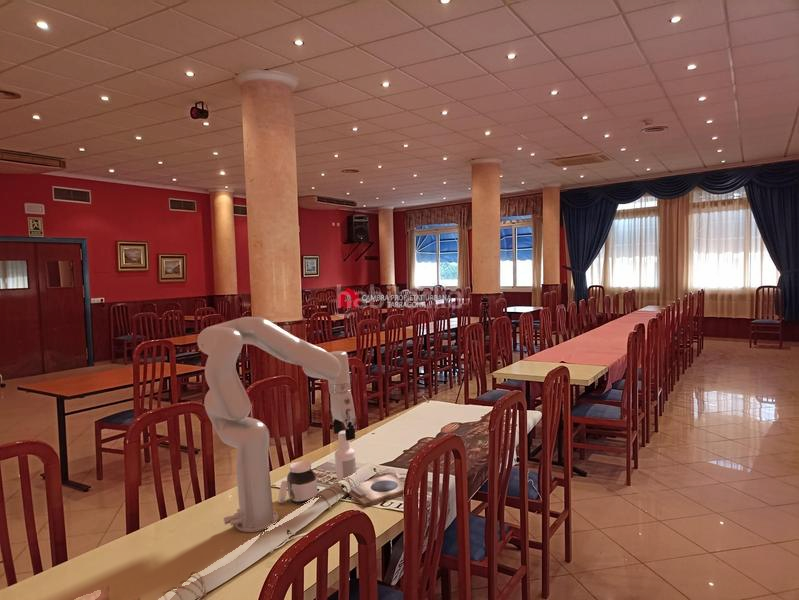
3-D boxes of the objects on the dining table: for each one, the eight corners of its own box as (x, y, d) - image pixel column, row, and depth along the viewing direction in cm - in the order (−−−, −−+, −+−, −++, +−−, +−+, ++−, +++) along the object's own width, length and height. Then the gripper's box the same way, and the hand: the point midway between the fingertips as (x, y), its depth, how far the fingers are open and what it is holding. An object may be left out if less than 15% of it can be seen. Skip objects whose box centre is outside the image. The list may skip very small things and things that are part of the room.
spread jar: (321, 500, 175) (318, 464, 175) (291, 512, 168) (287, 475, 167) (302, 490, 184) (299, 456, 184) (272, 501, 177) (269, 466, 176)
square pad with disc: (364, 507, 168) (364, 501, 168) (342, 490, 181) (342, 484, 181) (413, 491, 177) (413, 485, 177) (389, 476, 191) (388, 470, 190)
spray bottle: (353, 487, 184) (349, 435, 182) (334, 486, 185) (330, 435, 184) (359, 479, 190) (355, 428, 189) (340, 478, 192) (336, 429, 191)
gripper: (361, 389, 180) (365, 439, 181) (339, 381, 195) (343, 427, 196) (340, 394, 176) (345, 445, 178) (319, 385, 191) (324, 432, 192)
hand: (344, 436), depth 187 cm, fingers open, 9 cm apart
